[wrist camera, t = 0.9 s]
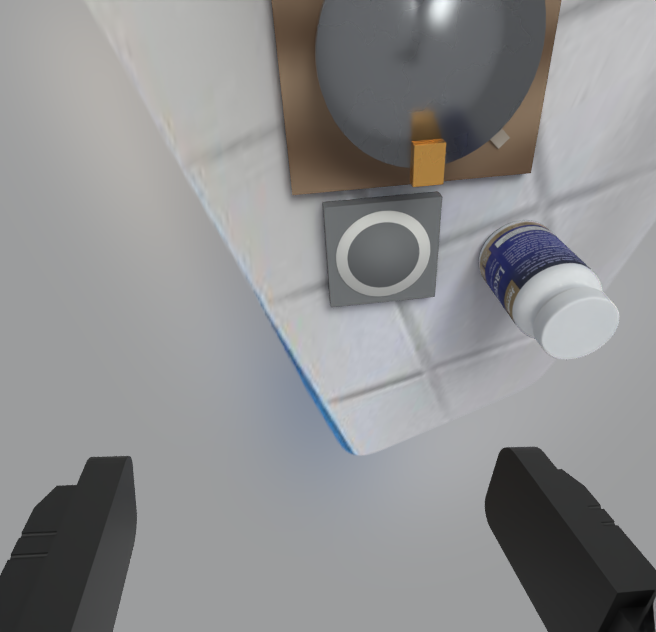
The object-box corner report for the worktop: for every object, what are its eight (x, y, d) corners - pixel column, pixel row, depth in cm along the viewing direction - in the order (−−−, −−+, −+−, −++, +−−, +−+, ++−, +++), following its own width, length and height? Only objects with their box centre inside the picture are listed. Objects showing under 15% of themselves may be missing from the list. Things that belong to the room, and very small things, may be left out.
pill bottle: (464, 246, 36) (519, 323, 28) (535, 202, 35) (615, 270, 27) (493, 297, 39) (551, 381, 31) (561, 260, 38) (640, 337, 30)
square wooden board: (257, -130, 24) (256, -139, 22) (580, -151, 24) (605, -162, 22) (292, 190, 33) (293, 203, 31) (525, 169, 33) (540, 180, 31)
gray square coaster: (322, 202, 33) (324, 208, 32) (438, 191, 34) (442, 197, 33) (329, 300, 38) (331, 308, 37) (431, 290, 38) (435, 297, 37)
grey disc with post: (305, -85, 23) (313, -102, 18) (556, -103, 23) (628, -124, 18) (323, 183, 30) (332, 220, 25) (514, 165, 30) (558, 199, 26)
